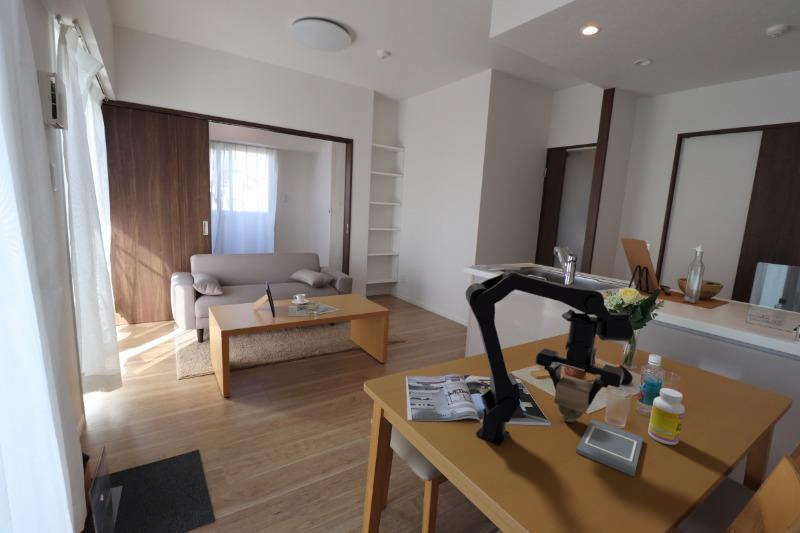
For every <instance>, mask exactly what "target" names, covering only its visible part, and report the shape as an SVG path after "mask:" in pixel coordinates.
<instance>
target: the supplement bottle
mask: <svg viewBox="0 0 800 533" xmlns="http://www.w3.org/2000/svg"><path fill="white" fill-rule="evenodd" d="M682 401H683V394H682V393H681V392H679V391H678V390H675V389H672V388H669V387H662V388H660V390H659V396H657V397H655V398H654V399H653V402H652V408H651V413H650V417H649V425H648V430H647V431H648V432H647V433H648V434H649V436H650V437H651V438H652V439H653V440H655V441H657V442H659V443H661V444H663V445H664V444H665V445H669V446H670V445H671V446H674V445H677V444H679V443H680V442H679V441H680V438H681V433H682V426H683V421H684V416H685V411H686V408H685V406H684V405H683V403H681V402H682Z"/></svg>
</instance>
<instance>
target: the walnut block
mask: <svg viewBox="0 0 800 533" xmlns="http://www.w3.org/2000/svg"><path fill="white" fill-rule="evenodd" d="M593 383H594V382H590V381H586V380H583V379H580V378H577V377H574V376H570V375H566V374H564V375H562V376H561V379H560V381H559V382H558V383H557V385H556V390H555V393H554V394H555V395H554V401H553V403H554V404H556V405H557V406H558V405H561V406H564V407H567V408H570V409H573V410H576V411H579V412H581V413H583V414H586V413H587V411H588V410H589V408H590V406H591V405H589V398H590V394H591V390H592V386H593Z"/></svg>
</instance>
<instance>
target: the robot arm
mask: <svg viewBox="0 0 800 533" xmlns="http://www.w3.org/2000/svg"><path fill="white" fill-rule="evenodd" d="M514 291H519V292H523V293H526V294H531V295H534V296H537V297H542V298H545V299H548V300H549V299H550V300H552V301H556V302H561V303H563V304H564V305H567V306H570V307H571V308H573V309H575V310H577V311H579V312H576V311H574V310H573V309H571V308H569V310H567V311H566V312H565V313H563V314H561V317H562V318H563V319H564V320H565V321H567V322H570V323H569V330H568V338H567V340H566V343H565V350H566V356H565V357H561V356H559V351H556V350H554V349H553V350H552V349H549V348H546V347H545V348H543V349H541V350H540V351H539V352H538V353H536V357H535V364H536V365H539V366H542V367H543V368H544V370H545V371H547V373H548V374H549V377H550V378H551V381H552V383H553V386H554V389H555V391H556V385H557V383H558V382H559V381H560V379H561V378H562V375H561V374H562V373H561V372H562V368H563V367H566V368H570V369H573V370H577V371H580V372H583V373H587V374H591V375H594V376H595V379H594V381H593V382H592V383H593V386H592V390H591V394H590V398H589V405H590V406H591V405H592V403H593V401H594V399H595V398H596V395H597V394H598V393H599V392H600V391H601V389H603V388H609V387H610V386H611V387H614V388H620V386H621V384H622V382H623V379H624V374H625V373H624V370H623V368H621V367H618V366H613V365H609V364H606V363H605V364H604V366H603V367H599V366H596V365H592V364H594V363H595V359H596V354H597V348H596V347H595V343H596V336H597V337H598V338H599V339H600V340H601V341H609V342H624V343H625V342H626V343H627V342H629V341H630V340H632V338H633V335H634V330H633V324H632V323H631V321H630V314H629V313H626V312H624V311H623V312H620V311H619V312H610V311H609V309H608V308H607V306H606V305H605V297H604V295H603V293H601V291H599V290H596V289H594V288H591V287H589V286H587V285H583V284H582V285H581V284H573V283H571V284H560V283H557V282H553V281H549V280H545V279H542V278H538V277H534V276H529V275H527V274H522V273H519V272H517V271H514V270H509V269H508V270H506V271H504V272H502V273H501V274H499V275H497V276H493V277H491V278H488V279H486V280H484V281H482V282H478V283H477V282H475V283H471V284H470V285H469V286H468V287H467V289H466V291H465V300H466V301H467V303H468V305H469V308H470V310H471V312H472V315H473V316H474V318H475V320H476V322H477V325H478V329H479V333H480V337H481V341H482V344H483V350H484V353H485V356H486V360H487V364H488V367H489V372H490V378H489V386H490V389H488V390H487V391H486V392H484V393H483V394H482V395H481V396H480V398H481V401H482V402H481V403H482V404H483V407H484V408H483V412H482V422H481V427H480V428H479V429H478V430H477V431H476V432H475V436H477V437H480V438H481V439H484V440H486V441H488V442H490V443H492V444H495V445H496V446H502V444H503V443H504V442H505V440H507V438H508V437H509V436H510V431H507V430H506V425H507V423H510V421H511V419H512V416H513V415H514V414H515V412H517V411H518V410H519V408H520V407H521V401H522V400H523V397H522V396H521V394H520V387H519V382H518V381H517V380H516V377H515V376H514V374H513V372H511V373H508V370H507V367H506V363H505V359H504V355H503V351H502V347H501V344H500V338H499V335H498V330H497V328H496V323H495V321H496V320H495V319H496V318H495V317H496V304H497V303H499V302H501V301H502V300H504V299H505V298H506V297H507V296H509V294H510V293H512V292H514Z"/></svg>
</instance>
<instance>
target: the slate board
mask: <svg viewBox="0 0 800 533" xmlns="http://www.w3.org/2000/svg"><path fill="white" fill-rule="evenodd" d="M643 439H644V437H643V436H640V435H637V434H635V433H631V432H628V431H626V430H623V429H620V428H618V427H616V426H615V427H614V426H612V425H609V424H606V423H604V422H601V421H598V420H595V419H591V420H590V422H589V424H588V425H587V427H586V430H585V431H584V433H583V436H582V438H581V439H580V441H579V443H578V445H577V447H576V451H575V453H577V454H578V455H582V456H584V457H587V458H588V459H591V460H593V461H597V462H598V463H601V464H603V465H606V466H608V467H610V468H612V469H615V470H618V471H619V472H622V473H623V474H627V475H629V476H631V477H635V475H636V471H637V470H636V469H637V467H638V466H637V465H638V462H639V458H640V454H641V450H642V445H643Z"/></svg>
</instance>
